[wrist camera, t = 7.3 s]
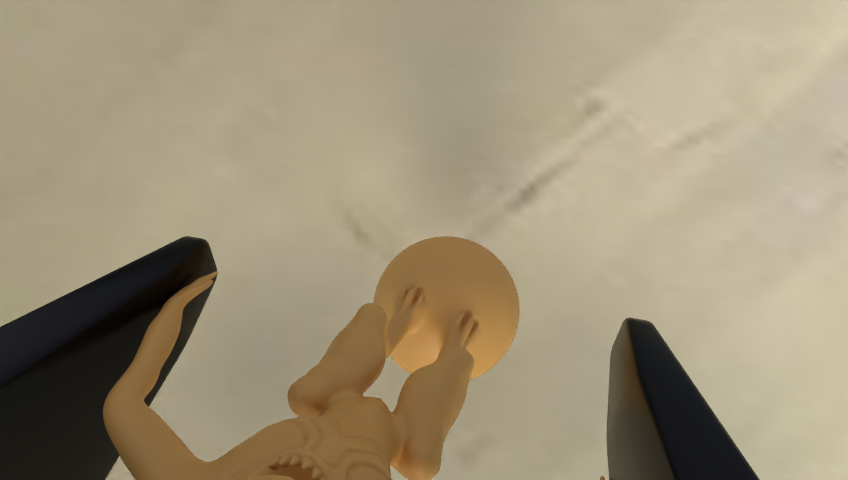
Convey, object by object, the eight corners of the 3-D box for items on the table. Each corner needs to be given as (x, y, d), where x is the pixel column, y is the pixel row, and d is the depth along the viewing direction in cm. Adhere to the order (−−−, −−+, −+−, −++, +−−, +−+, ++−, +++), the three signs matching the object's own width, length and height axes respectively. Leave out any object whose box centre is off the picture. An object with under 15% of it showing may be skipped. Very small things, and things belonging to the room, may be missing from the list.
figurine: (603, 308, 16) (956, 368, 4) (517, 490, 15) (604, 1148, 4) (363, 194, 17) (70, -28, 5) (281, 361, 17) (-223, 533, 5)
